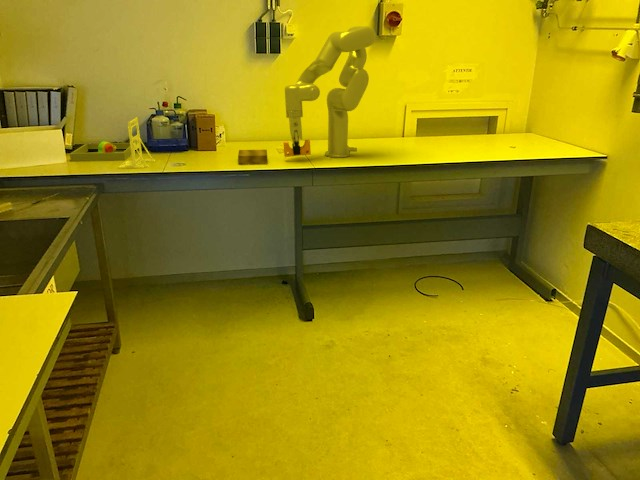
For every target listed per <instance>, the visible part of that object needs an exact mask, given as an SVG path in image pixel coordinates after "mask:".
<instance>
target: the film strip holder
mask: <svg viewBox="0 0 640 480" xmlns="http://www.w3.org/2000/svg"><path fill="white" fill-rule="evenodd" d="M139 125H140V124H139V119H138V117H134V119H132V120H129V121H127V132H128V139H129V143H130V149H131V155H130V157H131V160H124V161H123V162H122V164H121V165H118V166H117V169H150V165H148V164H147V163H155V162H156V159H154V158H153V157H152V156H151V153H150V152H149V151H148V148H147V147H146V146H145V144H144V143H143V141H142V138H141V134H140V127H139ZM135 126H136V127H135ZM134 127H135V128H136V133H137V134H136V135H134V136H133V128H134ZM142 147H143V148H144V150H145V151H146V153H147V155H148V157H149V158H145V159H144V158H143V152H142ZM135 150H136V151H135ZM136 152H137V154H138V158H137V159H136ZM142 163H143V164H142ZM141 164H142V165H141Z"/></svg>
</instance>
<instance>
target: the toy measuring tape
mask: <svg viewBox="0 0 640 480" xmlns="http://www.w3.org/2000/svg"><path fill="white" fill-rule="evenodd" d="M99 143H100V144H99V146H98V151H96V153H116V151H117V150H116V149H117V148H116V146H115V145H112V144H111V142H109V141H101V142H99Z"/></svg>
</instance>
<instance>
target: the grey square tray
mask: <svg viewBox="0 0 640 480" xmlns="http://www.w3.org/2000/svg"><path fill="white" fill-rule="evenodd" d="M100 143H101V142H98V143H97V142H95V143H94V142H91V143H89V142H87V143H84V144H83V145H81V146H80V147H78V148H77V149H75V150H73V151H71V152H70V153H69V156H70V162H102V161H103V162H104V161H106V162H107V161H108V162H109V161H110V162H113V161H115V162H117V161H127V159H128V158H130V157H131V156H132V154H131V149H130V142H112V143H111V142H110V143H111V144H112V145H115V146H116V148H117V149H126V150H123V151H122V152H115V153H97V152H89V151H88V149H98V146H99V144H100Z"/></svg>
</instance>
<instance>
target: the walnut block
mask: <svg viewBox="0 0 640 480" xmlns="http://www.w3.org/2000/svg"><path fill="white" fill-rule="evenodd" d="M237 160H238V161H237V163H238V165H239V166H242V165H244V166H245V165H246V164H247V165H248V164H249V165H268V150H267V149H239V150H238V154H237ZM249 165H248V166H249Z"/></svg>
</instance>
